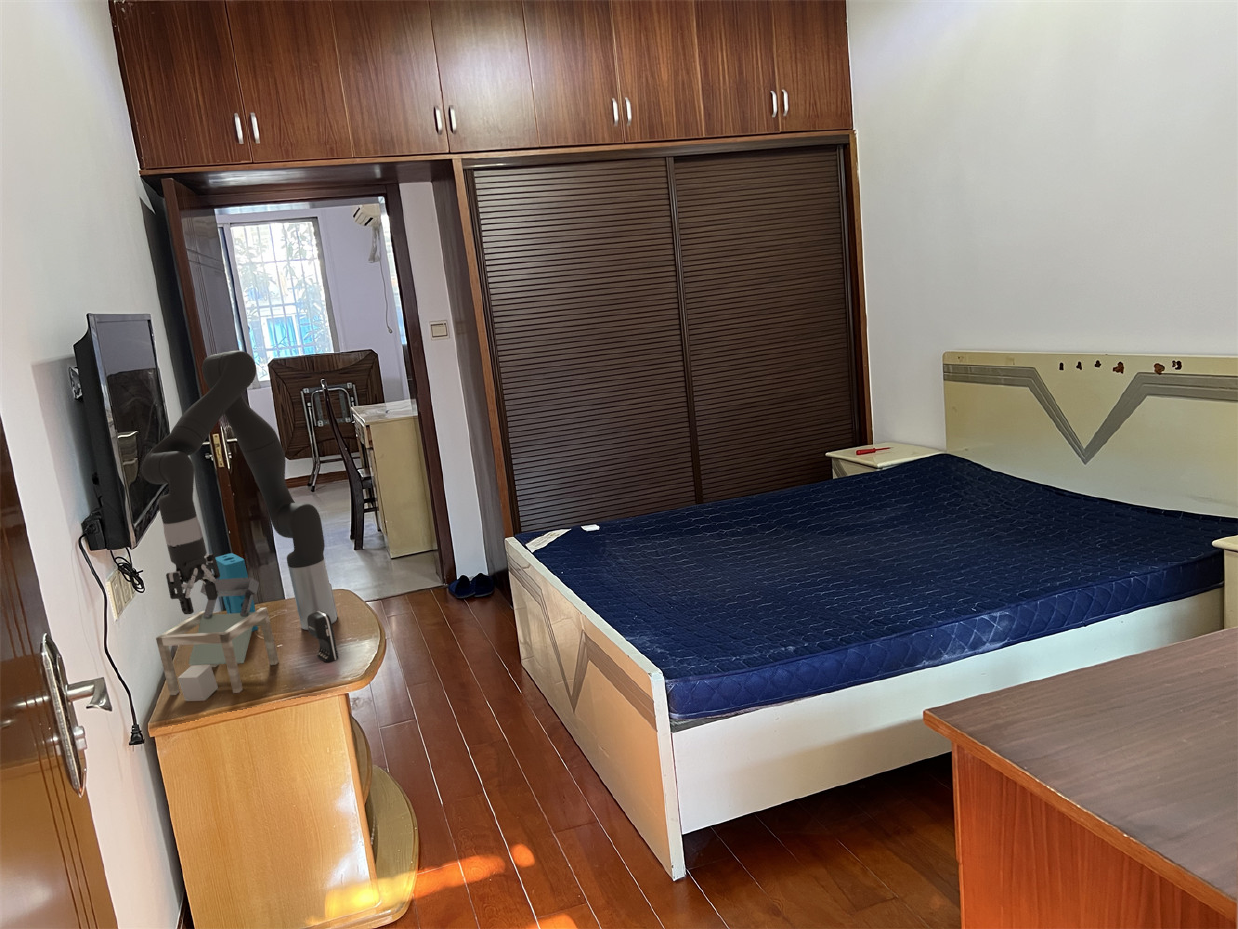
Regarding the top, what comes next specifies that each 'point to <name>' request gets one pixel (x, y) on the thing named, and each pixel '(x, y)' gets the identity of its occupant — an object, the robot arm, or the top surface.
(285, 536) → the robot arm
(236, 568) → the block
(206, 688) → the stone block
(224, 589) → the trapdoor
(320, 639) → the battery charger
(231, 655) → the trapdoor frame
